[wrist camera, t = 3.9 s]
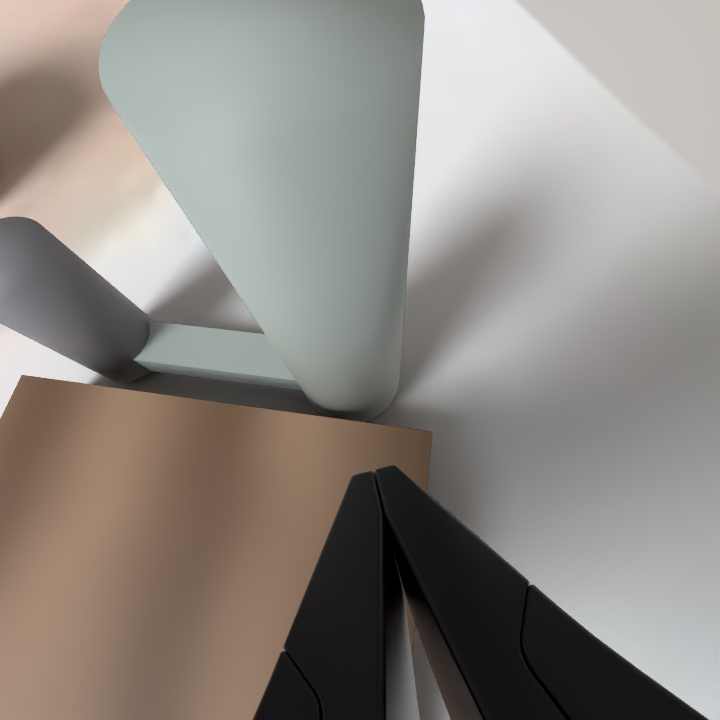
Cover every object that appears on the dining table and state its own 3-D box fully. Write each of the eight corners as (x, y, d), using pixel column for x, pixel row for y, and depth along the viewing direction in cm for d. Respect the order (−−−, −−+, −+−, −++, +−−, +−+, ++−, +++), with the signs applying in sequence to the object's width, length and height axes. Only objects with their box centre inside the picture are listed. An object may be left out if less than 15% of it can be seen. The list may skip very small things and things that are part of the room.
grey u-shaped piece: (82, 386, 16) (-572, 101, 5) (116, 306, 17) (-344, -56, 6) (393, 430, 14) (404, 157, 4) (405, 338, 15) (438, -63, 5)
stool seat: (-133, 879, 11) (-271, 973, 9) (166, 182, 20) (137, 138, 18) (368, 1042, 9) (361, 1212, 7) (448, 201, 18) (457, 156, 16)
